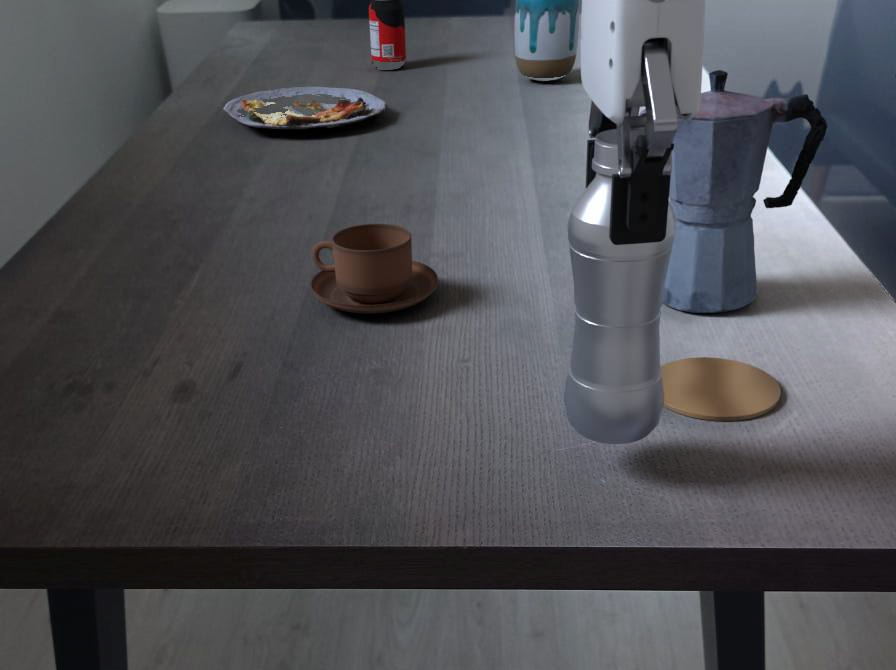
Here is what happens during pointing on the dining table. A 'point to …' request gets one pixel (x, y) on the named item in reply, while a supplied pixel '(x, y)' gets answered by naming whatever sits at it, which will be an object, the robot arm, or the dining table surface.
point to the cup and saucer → (372, 271)
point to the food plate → (329, 118)
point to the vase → (546, 37)
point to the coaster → (718, 389)
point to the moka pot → (726, 193)
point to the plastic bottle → (614, 315)
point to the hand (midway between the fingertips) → (623, 218)
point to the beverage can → (387, 30)
